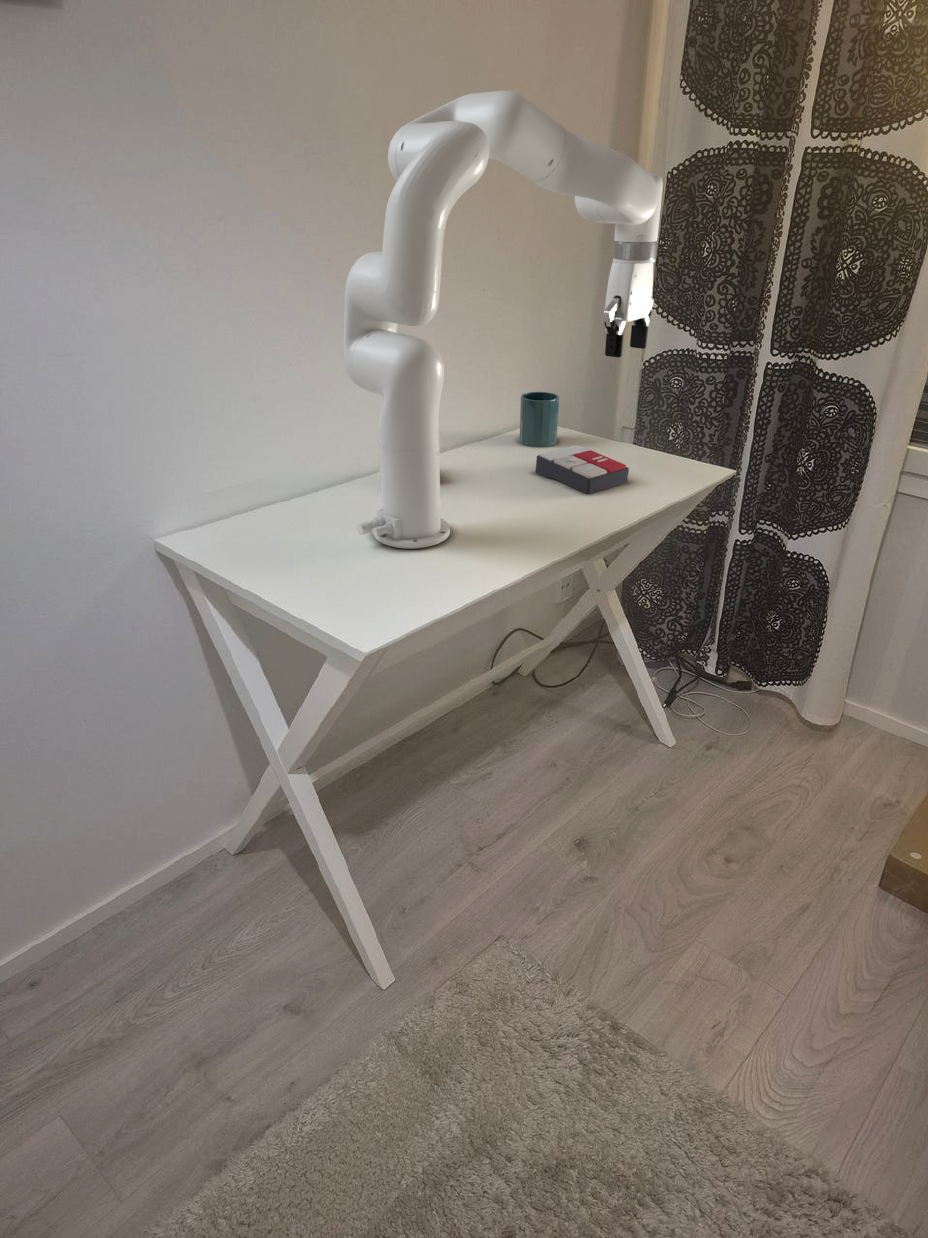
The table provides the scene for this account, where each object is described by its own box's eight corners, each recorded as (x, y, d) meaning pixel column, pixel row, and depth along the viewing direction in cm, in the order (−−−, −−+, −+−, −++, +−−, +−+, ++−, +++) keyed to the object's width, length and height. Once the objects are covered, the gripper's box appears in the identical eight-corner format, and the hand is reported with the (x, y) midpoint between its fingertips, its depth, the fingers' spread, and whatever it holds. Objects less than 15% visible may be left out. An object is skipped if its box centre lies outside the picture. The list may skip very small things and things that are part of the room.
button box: (589, 475, 148) (536, 451, 158) (586, 497, 150) (534, 472, 160) (630, 464, 154) (576, 441, 164) (627, 485, 156) (574, 461, 166)
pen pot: (537, 449, 174) (539, 403, 169) (512, 440, 180) (513, 395, 175) (564, 442, 178) (566, 396, 174) (538, 433, 184) (540, 389, 179)
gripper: (638, 247, 150) (629, 342, 159) (591, 255, 139) (585, 357, 147) (675, 249, 146) (664, 346, 155) (630, 257, 135) (621, 362, 143)
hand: (625, 351), depth 151 cm, fingers open, 9 cm apart
